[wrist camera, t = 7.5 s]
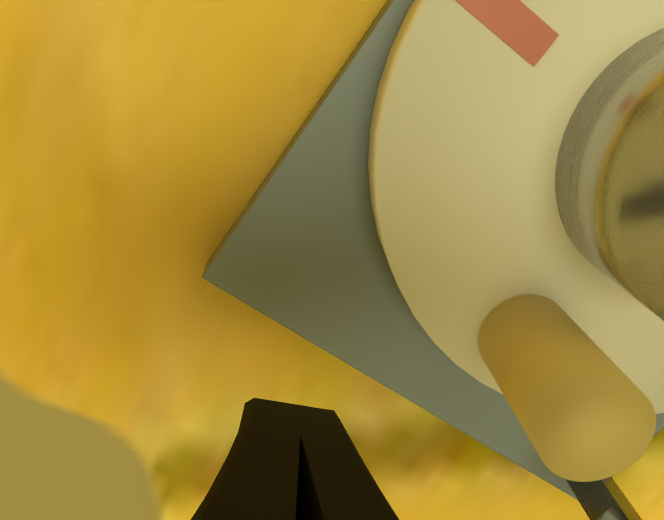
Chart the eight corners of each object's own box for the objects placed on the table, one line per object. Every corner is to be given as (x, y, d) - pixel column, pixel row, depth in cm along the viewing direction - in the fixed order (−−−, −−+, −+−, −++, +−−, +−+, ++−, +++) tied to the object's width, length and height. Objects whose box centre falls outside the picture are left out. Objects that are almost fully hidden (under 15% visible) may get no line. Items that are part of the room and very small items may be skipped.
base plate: (1049, 16, 16) (1095, 15, 15) (570, 482, 21) (583, 503, 20) (696, -448, 12) (731, -487, 11) (206, 263, 17) (202, 277, 16)
